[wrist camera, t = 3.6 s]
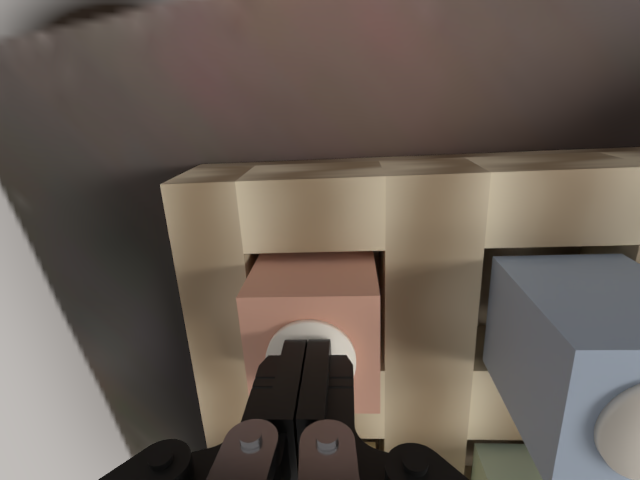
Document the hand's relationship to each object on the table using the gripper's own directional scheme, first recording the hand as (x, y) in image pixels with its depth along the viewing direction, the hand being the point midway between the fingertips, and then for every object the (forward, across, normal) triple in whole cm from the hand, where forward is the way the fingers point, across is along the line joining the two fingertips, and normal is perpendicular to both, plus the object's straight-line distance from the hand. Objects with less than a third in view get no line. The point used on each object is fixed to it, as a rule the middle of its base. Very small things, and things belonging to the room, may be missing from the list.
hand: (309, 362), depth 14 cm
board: (+8, -4, +5) cm, 10 cm away
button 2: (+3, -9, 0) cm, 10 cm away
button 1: (+6, 0, 0) cm, 6 cm away
